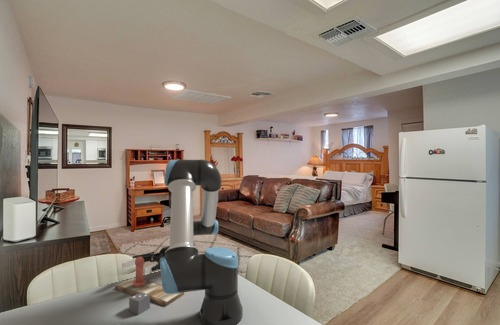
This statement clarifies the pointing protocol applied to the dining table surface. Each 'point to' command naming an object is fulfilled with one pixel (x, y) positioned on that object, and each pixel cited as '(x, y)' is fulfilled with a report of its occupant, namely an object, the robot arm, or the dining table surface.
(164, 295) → the board
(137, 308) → the die
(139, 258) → the pawn
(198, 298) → the dining table surface
